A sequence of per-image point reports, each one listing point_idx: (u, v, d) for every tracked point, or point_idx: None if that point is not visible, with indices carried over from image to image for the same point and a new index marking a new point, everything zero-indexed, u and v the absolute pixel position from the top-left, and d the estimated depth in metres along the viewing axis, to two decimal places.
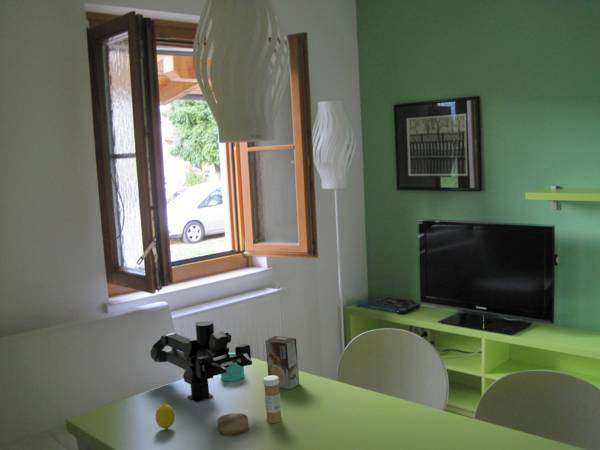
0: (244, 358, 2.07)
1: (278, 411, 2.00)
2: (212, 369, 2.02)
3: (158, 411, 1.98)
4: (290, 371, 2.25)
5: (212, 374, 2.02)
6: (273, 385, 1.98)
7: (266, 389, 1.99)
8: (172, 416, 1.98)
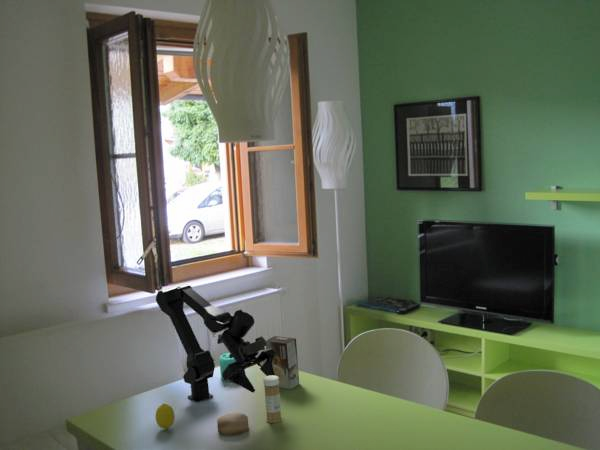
0: (269, 370, 2.07)
1: (278, 411, 2.00)
2: (240, 378, 2.00)
3: (158, 411, 1.98)
4: (290, 371, 2.25)
5: (237, 383, 2.00)
6: (273, 385, 1.98)
7: (266, 389, 1.99)
8: (172, 416, 1.98)
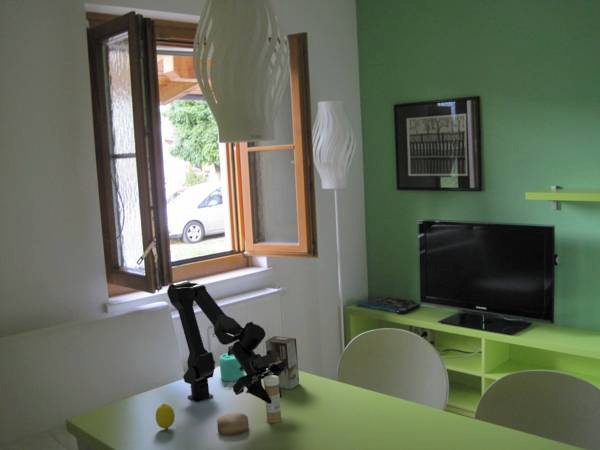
0: None
1: (278, 411, 2.00)
2: (256, 389, 1.99)
3: (158, 411, 1.98)
4: (290, 371, 2.25)
5: (254, 393, 2.00)
6: (273, 385, 1.98)
7: (266, 389, 1.99)
8: (172, 416, 1.98)
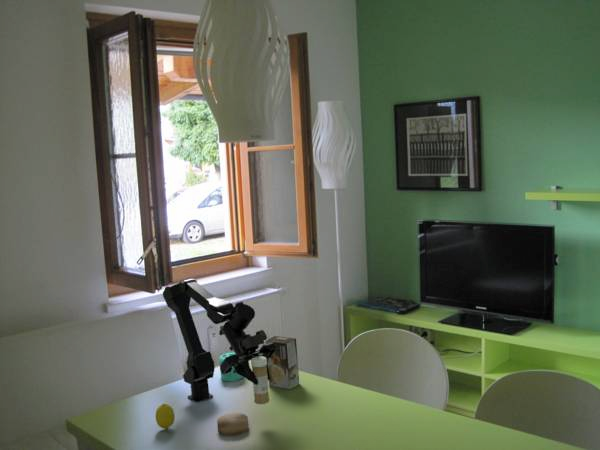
0: None
1: (265, 393, 1.97)
2: (243, 369, 1.98)
3: (158, 411, 1.98)
4: (290, 371, 2.25)
5: (241, 374, 1.98)
6: (260, 366, 1.95)
7: (253, 370, 1.96)
8: (172, 416, 1.98)
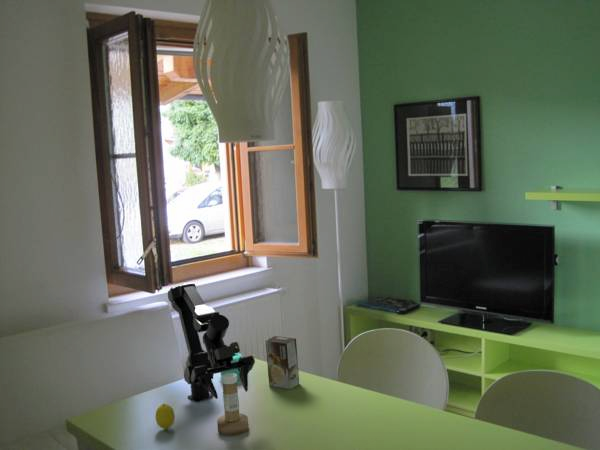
0: (243, 377, 1.98)
1: (234, 411, 1.94)
2: (206, 382, 1.95)
3: (158, 411, 1.98)
4: (290, 371, 2.25)
5: (204, 386, 1.96)
6: (228, 383, 1.93)
7: (223, 386, 1.95)
8: (172, 416, 1.98)
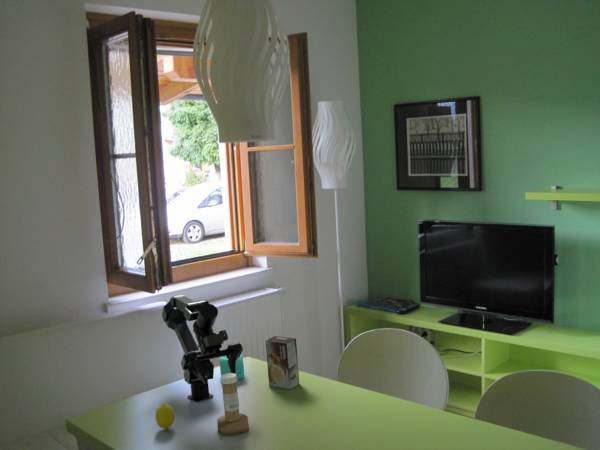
0: (231, 364, 2.07)
1: (234, 410, 1.95)
2: (196, 368, 2.03)
3: (158, 411, 1.98)
4: (290, 371, 2.25)
5: (194, 372, 2.04)
6: (228, 383, 1.93)
7: (222, 386, 1.95)
8: (172, 416, 1.98)
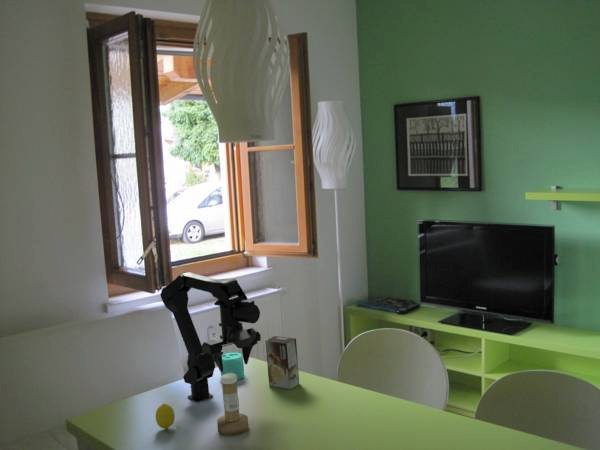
0: (246, 351, 2.14)
1: (234, 410, 1.95)
2: None
3: (158, 411, 1.98)
4: (290, 371, 2.25)
5: (212, 355, 2.08)
6: (228, 383, 1.93)
7: (222, 387, 1.95)
8: (172, 416, 1.98)
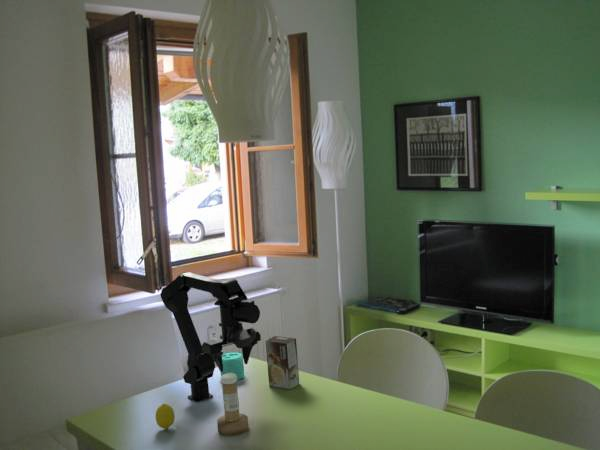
0: (246, 351, 2.14)
1: (234, 410, 1.95)
2: None
3: (158, 411, 1.98)
4: (290, 371, 2.25)
5: (212, 355, 2.08)
6: (228, 383, 1.93)
7: (222, 386, 1.95)
8: (172, 416, 1.98)
